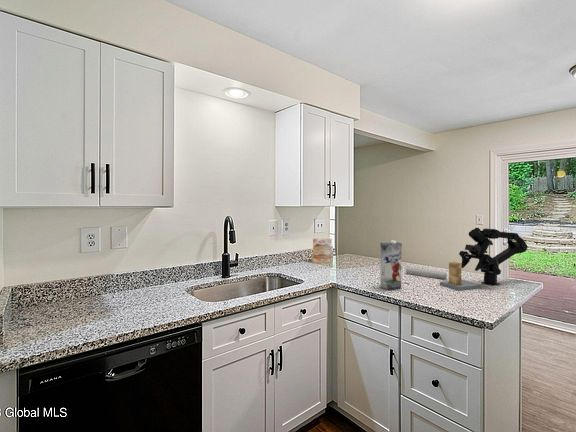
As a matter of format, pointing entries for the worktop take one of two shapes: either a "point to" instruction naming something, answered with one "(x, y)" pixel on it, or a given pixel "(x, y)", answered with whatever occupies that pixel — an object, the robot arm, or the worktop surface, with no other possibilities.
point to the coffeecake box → (322, 250)
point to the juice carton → (390, 265)
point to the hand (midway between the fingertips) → (468, 269)
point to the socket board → (464, 285)
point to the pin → (455, 273)
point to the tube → (426, 273)
